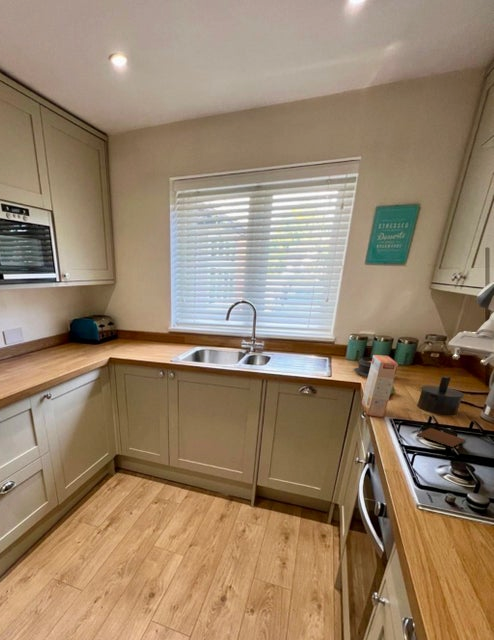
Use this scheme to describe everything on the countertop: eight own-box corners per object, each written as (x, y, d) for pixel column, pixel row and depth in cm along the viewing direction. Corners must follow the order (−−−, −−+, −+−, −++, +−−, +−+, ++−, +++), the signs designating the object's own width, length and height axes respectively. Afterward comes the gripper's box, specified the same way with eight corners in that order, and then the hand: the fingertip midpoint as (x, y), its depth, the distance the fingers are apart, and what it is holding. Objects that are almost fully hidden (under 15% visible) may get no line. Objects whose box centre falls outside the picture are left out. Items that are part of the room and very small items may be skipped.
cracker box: (384, 418, 123) (399, 363, 115) (366, 415, 124) (379, 361, 117) (377, 405, 135) (389, 355, 128) (361, 403, 137) (372, 353, 130)
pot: (463, 413, 129) (470, 393, 126) (444, 423, 120) (451, 401, 117) (427, 403, 139) (433, 384, 136) (407, 411, 129) (413, 391, 126)
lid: (468, 395, 125) (474, 379, 122) (454, 401, 118) (460, 384, 116) (429, 386, 135) (434, 370, 133) (414, 391, 128) (418, 375, 126)
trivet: (464, 441, 106) (465, 439, 106) (452, 448, 101) (452, 447, 101) (429, 429, 114) (430, 427, 114) (416, 436, 109) (416, 434, 109)
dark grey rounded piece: (394, 384, 164) (398, 367, 161) (353, 378, 172) (356, 363, 169) (390, 372, 185) (394, 358, 182) (353, 368, 193) (356, 354, 190)
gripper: (459, 325, 134) (437, 350, 133) (524, 332, 116) (498, 361, 116) (462, 335, 137) (441, 360, 137) (526, 344, 119) (501, 372, 119)
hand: (468, 361), depth 126 cm, fingers open, 8 cm apart
